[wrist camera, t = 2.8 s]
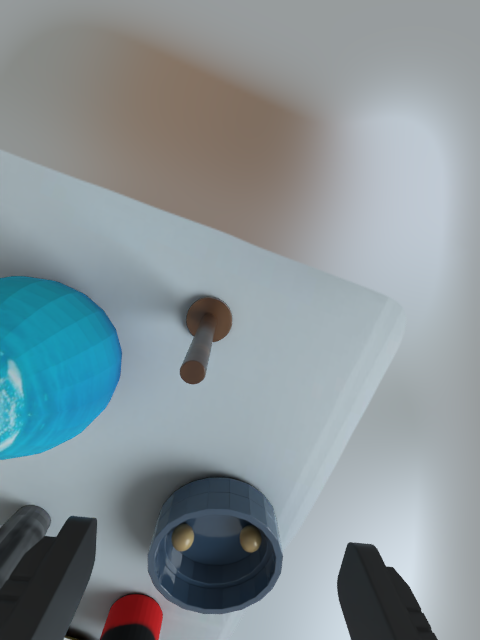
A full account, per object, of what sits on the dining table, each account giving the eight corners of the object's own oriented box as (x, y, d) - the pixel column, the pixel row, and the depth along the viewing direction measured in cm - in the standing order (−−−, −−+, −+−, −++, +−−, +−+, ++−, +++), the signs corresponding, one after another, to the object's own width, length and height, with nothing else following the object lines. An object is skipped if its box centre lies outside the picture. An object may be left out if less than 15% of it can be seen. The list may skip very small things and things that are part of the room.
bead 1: (195, 518, 38) (192, 539, 35) (195, 535, 38) (192, 557, 36) (173, 518, 38) (169, 538, 35) (173, 535, 38) (169, 557, 35)
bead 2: (261, 519, 38) (263, 540, 35) (259, 536, 39) (261, 558, 36) (240, 519, 38) (240, 540, 35) (238, 536, 39) (239, 558, 36)
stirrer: (233, 297, 32) (235, 335, 17) (231, 341, 33) (230, 410, 19) (187, 295, 32) (151, 331, 17) (186, 339, 33) (152, 407, 18)
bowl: (280, 475, 37) (288, 510, 32) (270, 569, 41) (276, 614, 36) (158, 472, 37) (146, 507, 32) (158, 568, 40) (148, 613, 35)
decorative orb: (125, 413, 35) (48, 531, 20) (-4, 379, 33) (-189, 479, 19) (156, 294, 32) (92, 331, 17) (15, 251, 30) (-190, 251, 15)
